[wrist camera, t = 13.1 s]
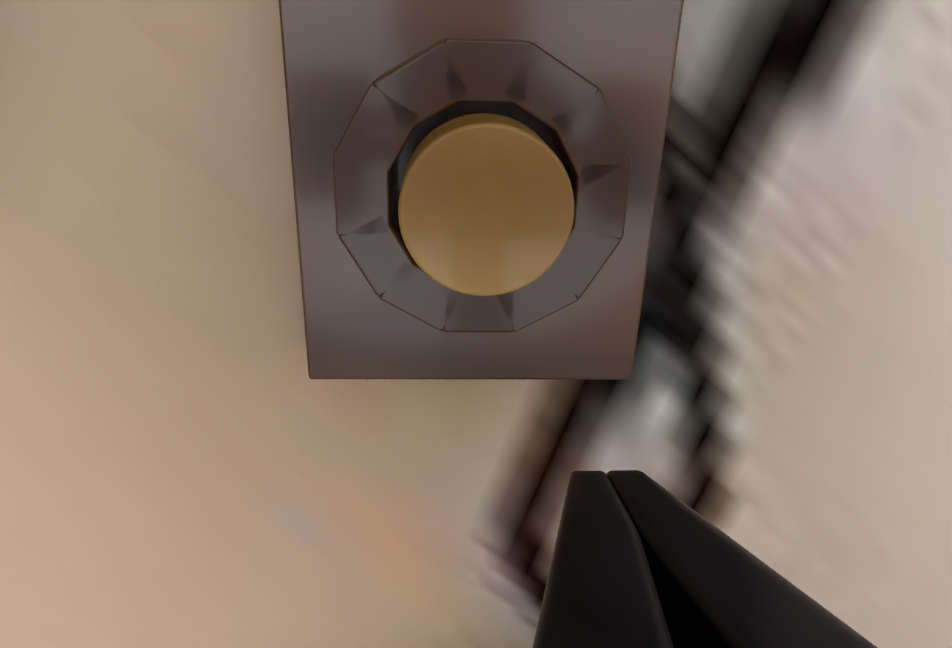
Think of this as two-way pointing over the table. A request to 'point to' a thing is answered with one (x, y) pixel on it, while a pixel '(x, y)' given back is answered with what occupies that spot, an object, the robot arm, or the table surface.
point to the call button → (485, 205)
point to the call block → (437, 101)
